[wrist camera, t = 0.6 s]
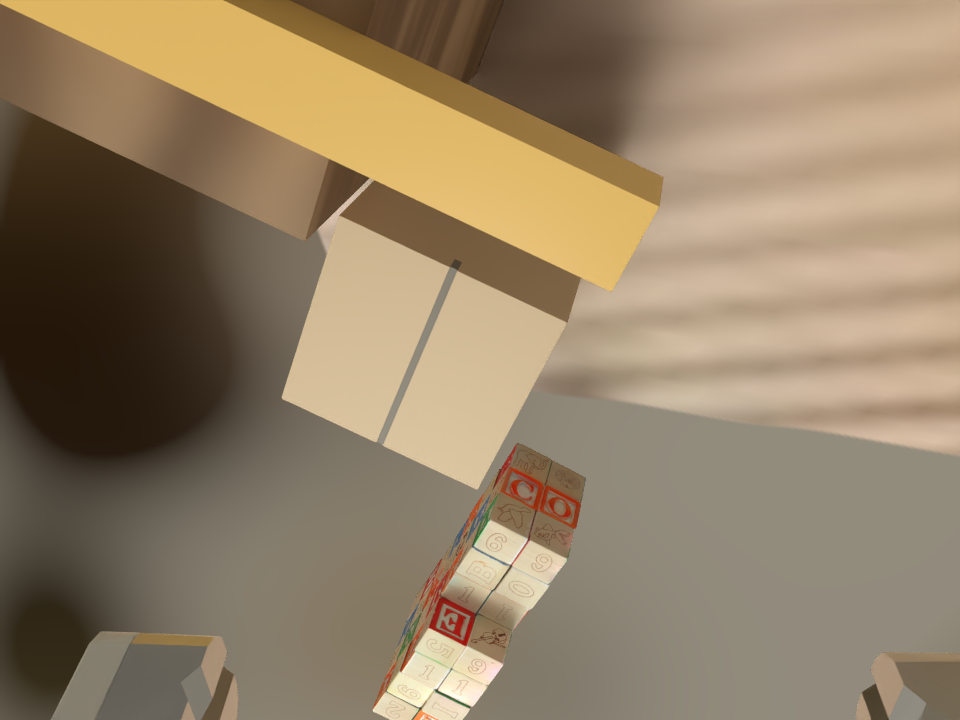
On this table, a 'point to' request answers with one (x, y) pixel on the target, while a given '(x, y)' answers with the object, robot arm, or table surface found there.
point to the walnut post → (213, 130)
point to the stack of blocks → (483, 590)
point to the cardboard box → (426, 333)
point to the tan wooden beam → (383, 120)
